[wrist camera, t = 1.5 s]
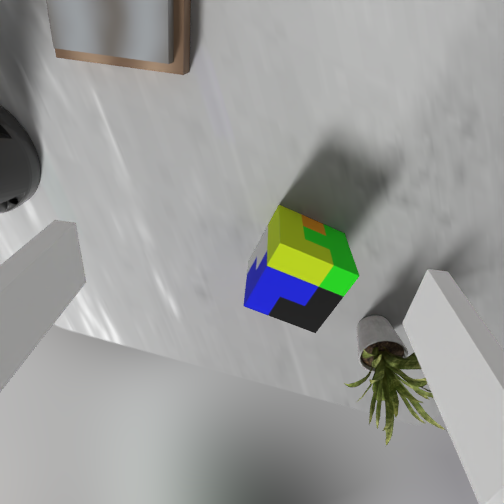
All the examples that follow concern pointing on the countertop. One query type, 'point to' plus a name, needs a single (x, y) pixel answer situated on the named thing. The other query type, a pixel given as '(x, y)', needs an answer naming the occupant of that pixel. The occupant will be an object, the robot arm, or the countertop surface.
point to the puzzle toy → (299, 270)
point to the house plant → (388, 370)
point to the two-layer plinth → (123, 32)
